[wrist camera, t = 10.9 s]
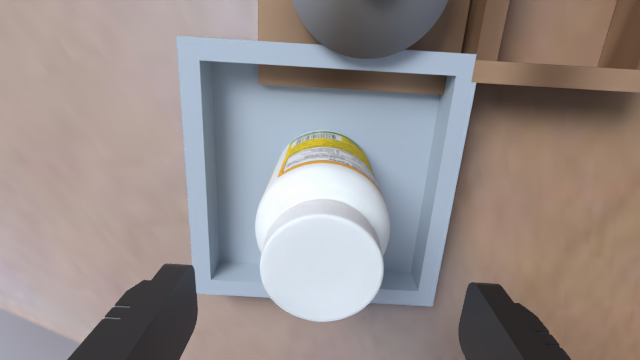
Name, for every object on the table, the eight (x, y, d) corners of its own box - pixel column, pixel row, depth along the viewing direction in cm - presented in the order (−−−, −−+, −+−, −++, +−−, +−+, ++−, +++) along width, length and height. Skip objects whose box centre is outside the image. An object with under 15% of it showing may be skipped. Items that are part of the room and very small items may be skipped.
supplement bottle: (318, 107, 19) (313, 155, 10) (389, 170, 20) (444, 264, 11) (257, 179, 20) (204, 278, 11) (327, 234, 22) (330, 363, 12)
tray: (461, 54, 19) (481, 54, 16) (421, 281, 23) (432, 306, 21) (195, 38, 19) (176, 35, 16) (207, 269, 23) (194, 293, 21)
